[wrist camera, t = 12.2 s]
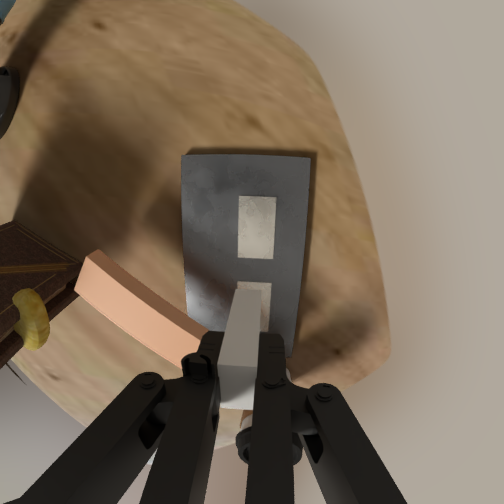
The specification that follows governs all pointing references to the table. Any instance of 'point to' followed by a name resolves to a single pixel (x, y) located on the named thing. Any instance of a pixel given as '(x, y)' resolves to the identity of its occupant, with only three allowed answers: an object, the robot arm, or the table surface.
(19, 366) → the table surface
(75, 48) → the table surface
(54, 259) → the book
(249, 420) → the coffee cup
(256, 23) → the table surface
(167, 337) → the cable arm
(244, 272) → the plate
